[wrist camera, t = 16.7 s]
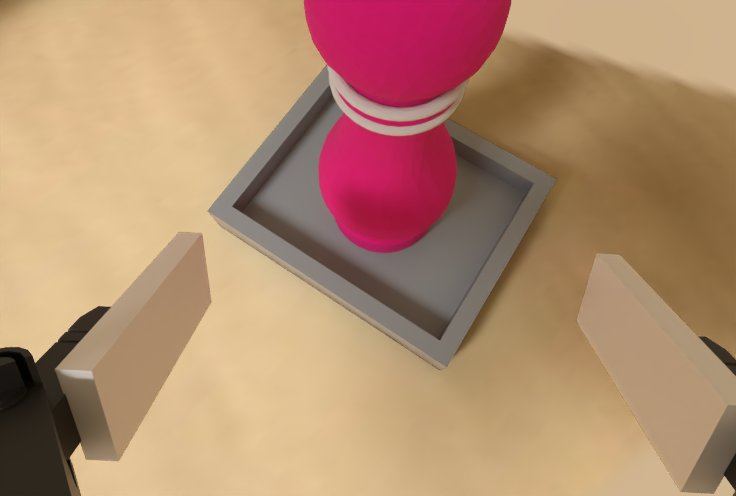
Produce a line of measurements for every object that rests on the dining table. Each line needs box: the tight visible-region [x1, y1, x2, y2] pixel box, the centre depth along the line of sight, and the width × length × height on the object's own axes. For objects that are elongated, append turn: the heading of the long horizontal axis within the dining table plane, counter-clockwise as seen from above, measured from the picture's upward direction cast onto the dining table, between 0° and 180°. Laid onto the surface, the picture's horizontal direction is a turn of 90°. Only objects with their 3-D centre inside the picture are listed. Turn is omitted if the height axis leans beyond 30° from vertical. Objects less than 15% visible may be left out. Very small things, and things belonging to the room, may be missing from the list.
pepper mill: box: [304, 0, 511, 253], centre depth 19 cm, size 7×7×20 cm
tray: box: [208, 65, 557, 370], centre depth 29 cm, size 16×13×2 cm
